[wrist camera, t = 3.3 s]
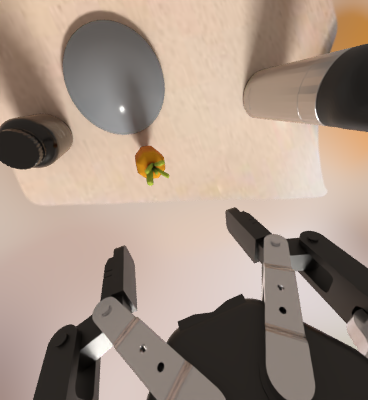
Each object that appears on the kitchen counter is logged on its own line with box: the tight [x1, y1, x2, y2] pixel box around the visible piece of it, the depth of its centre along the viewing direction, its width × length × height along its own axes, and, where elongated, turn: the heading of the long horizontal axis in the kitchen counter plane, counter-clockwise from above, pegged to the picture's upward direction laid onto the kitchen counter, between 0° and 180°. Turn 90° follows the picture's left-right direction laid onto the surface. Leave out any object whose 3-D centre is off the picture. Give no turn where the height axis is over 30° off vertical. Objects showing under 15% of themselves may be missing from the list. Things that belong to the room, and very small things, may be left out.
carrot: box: [135, 146, 169, 185], centre depth 31 cm, size 5×5×15 cm
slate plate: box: [63, 20, 165, 135], centre depth 30 cm, size 16×16×1 cm
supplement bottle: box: [0, 114, 73, 169], centre depth 26 cm, size 7×7×12 cm
